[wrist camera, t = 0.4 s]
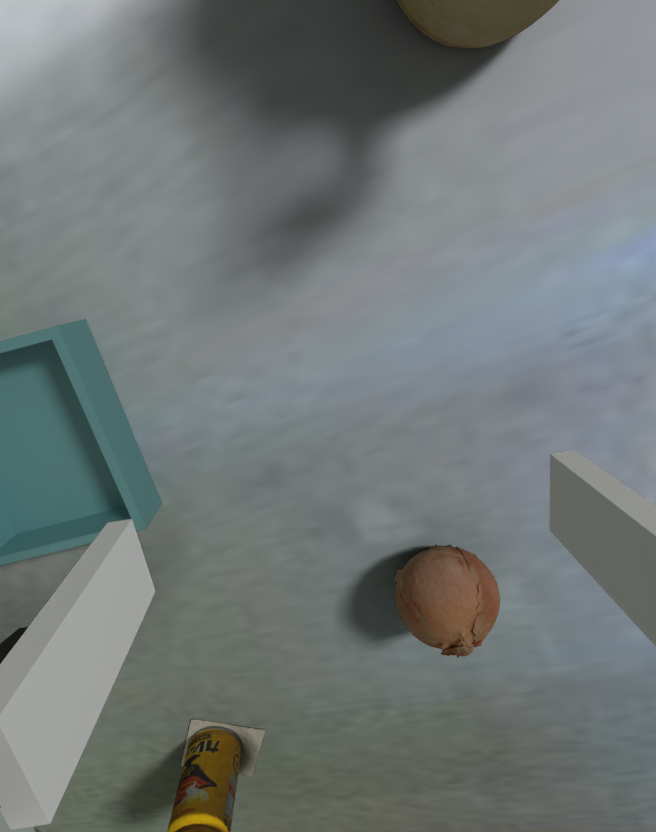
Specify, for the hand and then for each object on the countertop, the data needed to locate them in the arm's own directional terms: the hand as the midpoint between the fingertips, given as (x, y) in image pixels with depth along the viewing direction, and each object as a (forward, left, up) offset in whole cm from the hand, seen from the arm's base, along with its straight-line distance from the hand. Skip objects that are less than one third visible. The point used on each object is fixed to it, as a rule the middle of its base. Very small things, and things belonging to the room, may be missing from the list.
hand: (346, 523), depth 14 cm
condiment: (+41, -22, -27) cm, 54 cm away
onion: (+24, +6, -27) cm, 36 cm away
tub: (+1, -25, -27) cm, 37 cm away
